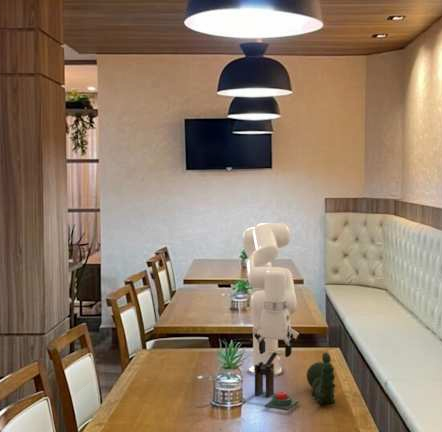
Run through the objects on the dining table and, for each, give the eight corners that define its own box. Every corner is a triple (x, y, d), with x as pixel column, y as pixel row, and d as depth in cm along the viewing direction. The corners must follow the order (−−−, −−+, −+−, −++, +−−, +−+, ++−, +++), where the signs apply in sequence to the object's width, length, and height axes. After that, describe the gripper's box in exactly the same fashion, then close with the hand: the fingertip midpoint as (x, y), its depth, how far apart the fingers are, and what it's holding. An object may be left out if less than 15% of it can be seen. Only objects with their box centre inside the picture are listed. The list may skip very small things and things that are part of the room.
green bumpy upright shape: (342, 415, 212) (330, 385, 237) (343, 358, 210) (331, 333, 234) (312, 416, 212) (304, 385, 237) (313, 359, 209) (304, 334, 234)
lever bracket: (259, 392, 231) (259, 358, 230) (283, 395, 227) (283, 361, 226) (244, 402, 220) (244, 367, 219) (269, 406, 216) (269, 370, 216)
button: (279, 396, 216) (279, 391, 216) (288, 398, 215) (288, 392, 215) (275, 399, 213) (275, 394, 213) (284, 400, 212) (284, 395, 212)
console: (276, 402, 220) (276, 391, 220) (298, 405, 217) (298, 395, 216) (264, 410, 212) (264, 399, 212) (287, 414, 208) (287, 403, 208)
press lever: (270, 353, 233) (269, 347, 233) (283, 355, 231) (282, 349, 230) (256, 374, 223) (255, 368, 223) (270, 375, 221) (268, 369, 220)
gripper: (302, 306, 230) (302, 355, 230) (257, 302, 237) (257, 349, 238) (294, 309, 223) (294, 360, 224) (248, 305, 230) (248, 354, 231)
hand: (275, 354), depth 231 cm, fingers open, 9 cm apart
